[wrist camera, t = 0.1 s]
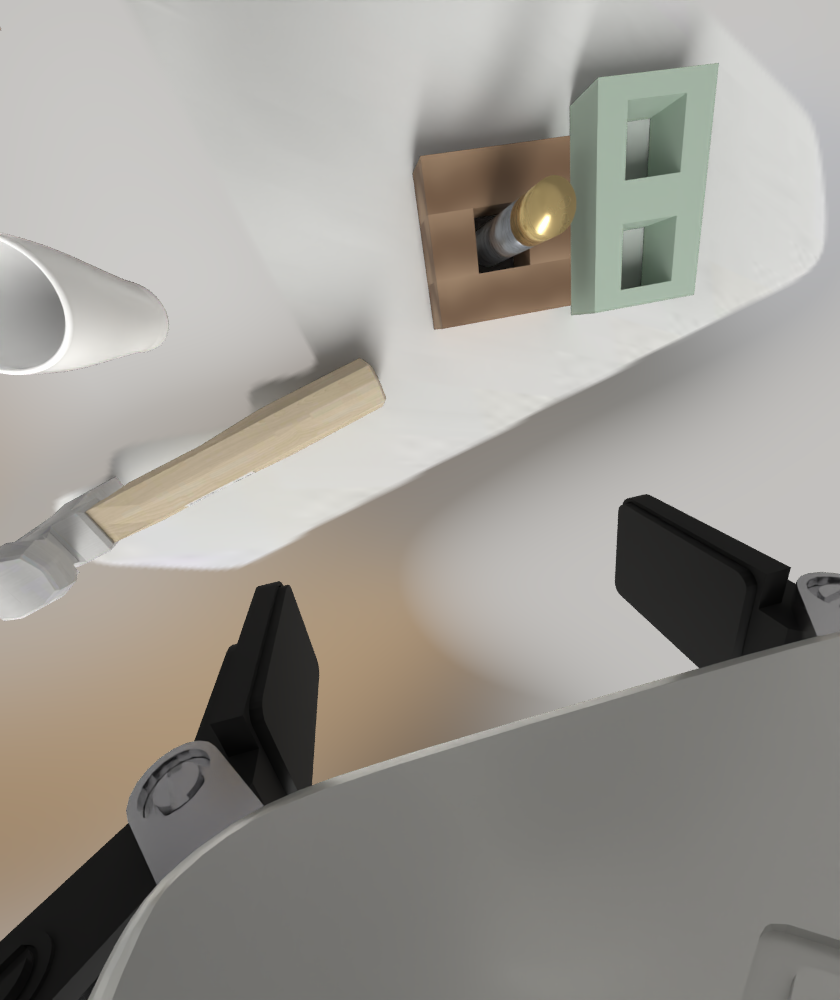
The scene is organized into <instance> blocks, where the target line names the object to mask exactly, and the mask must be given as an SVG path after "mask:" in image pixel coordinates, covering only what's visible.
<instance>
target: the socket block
mask: <svg viewBox="0 0 840 1000" xmlns="http://www.w3.org/2000/svg"><path fill="white" fill-rule="evenodd" d="M552 175H558V176H561V177H563V178H565V179H566V180H568V181H569V182H570V136H564V137H556V138H549V139H542V140H534V141H527V142H520V143H512V144H505V145H498V146H490V147H483V148H476V149H468V150H461V151H454V152H446V153H439V154H432V155H424V156H420V158H419V160H418V163H417V165H416V167H415V169H414V172H413V180H414V187H415V194H416V201H417V209H418V216H419V223H420V231H421V238H422V245H423V252H424V260H425V267H426V274H427V281H428V289H429V296H430V303H431V310H432V318H433V325H434V329H444V328H449V327H455V326H460V325H466V324H471V323H477V322H482V321H488V320H493V319H499V318H504V317H510V316H515V315H520V314H526V313H531V312H537V311H542V310H548V309H553V308H559V307H564V306H570V305H571V224H570V226H569V227H568V228H567V229H566V230H565V231H564V232H563V233H561V234H559V235H557V236H555V237H553V238H551V239H549V240H547V241H545V242H542V243H540V244H538V245H536V246H534V247H532V248H530V249H528V250H525V251H523V252H521V253H519V254H517V255H515V256H513V260H514V268H510V269H504V270H498V271H492V272H486V273H480V274H479V269H478V258H477V246H476V235H475V224H474V218H477V217H484V216H490V215H497V214H499V213H500V212H502V211H503V210H504V209H505V208H507V207H508V206H509V205H510V204H512V203H513V202H514V201H516V200H517V199H518V198H519V197H521V196H522V195H523V194H525V193H526V192H527V191H528V190H530V189H531V188H532V187H533V186H535V185H536V184H537V183H539V182H540V181H541V180H542V179H544V178H546V177H548V176H552Z"/></svg>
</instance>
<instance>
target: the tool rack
mask: <svg viewBox="0 0 840 1000" xmlns="http://www.w3.org/2000/svg"><path fill="white" fill-rule="evenodd" d="M718 66H719V63H714V64H706V65H698V66H690V67H681V68H673V69H665V70H657V71H648V72H640V73H632V74H624V75H615V76H607V77H599V78H597V79H596V80H595V81H594V82H593V83H592V84H591V85H590V86H589V87H588V88H587V89H586V90H585V91H584V92H583V93H582V94H581V95H580V96H579V97H578V99H577V100H576V101H575V102H574V103H573V104H572V105H571V106H570V184H571V185H572V187H573V189H574V191H575V195H576V212H575V215H574V218H573V220H572V222H571V315H581V314H591V313H598V312H604V311H609V310H614V309H620V308H625V307H631V306H636V305H641V304H647V303H652V302H657V301H663V300H668V299H673V298H679V297H684V296H690V295H694V291H695V282H696V272H697V263H698V253H699V244H700V235H701V225H702V216H703V206H704V197H705V188H706V178H707V169H708V159H709V150H710V141H711V131H712V122H713V113H714V103H715V94H716V84H717V75H718ZM650 118H651V119H650ZM642 119H650V137H649V154H648V172H647V177H645V178H639V179H632V180H625V168H626V143H627V122H628V121H635V120H642ZM642 227H644V242H643V259H642V277H641V286H639V287H633V288H628V289H622V290H621V272H622V246H623V231H624V230H630V229H636V228H642Z"/></svg>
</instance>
